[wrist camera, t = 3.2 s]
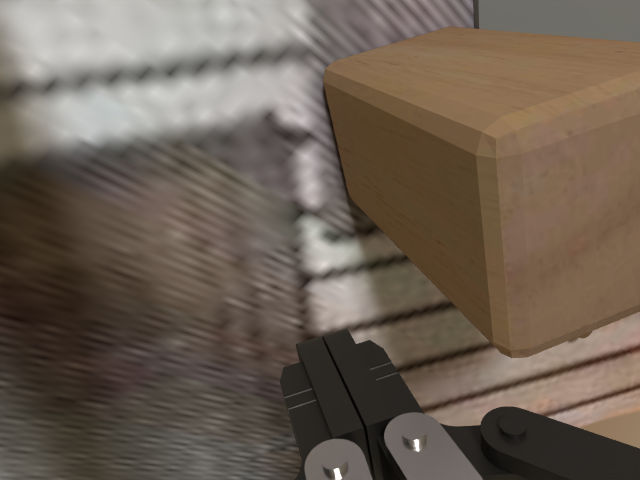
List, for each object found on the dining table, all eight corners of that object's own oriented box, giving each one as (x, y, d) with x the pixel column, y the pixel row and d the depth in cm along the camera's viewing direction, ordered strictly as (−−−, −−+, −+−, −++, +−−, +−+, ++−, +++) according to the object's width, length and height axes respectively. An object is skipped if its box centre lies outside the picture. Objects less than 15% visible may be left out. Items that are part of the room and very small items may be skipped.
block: (469, 160, 39) (721, 289, 21) (347, 202, 38) (509, 376, 20) (455, 21, 34) (762, 41, 17) (315, 63, 33) (490, 133, 15)
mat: (478, 187, 40) (482, 189, 40) (473, -10, 34) (478, -10, 33) (690, 128, 44) (696, 129, 43) (721, -61, 37) (729, -61, 37)
